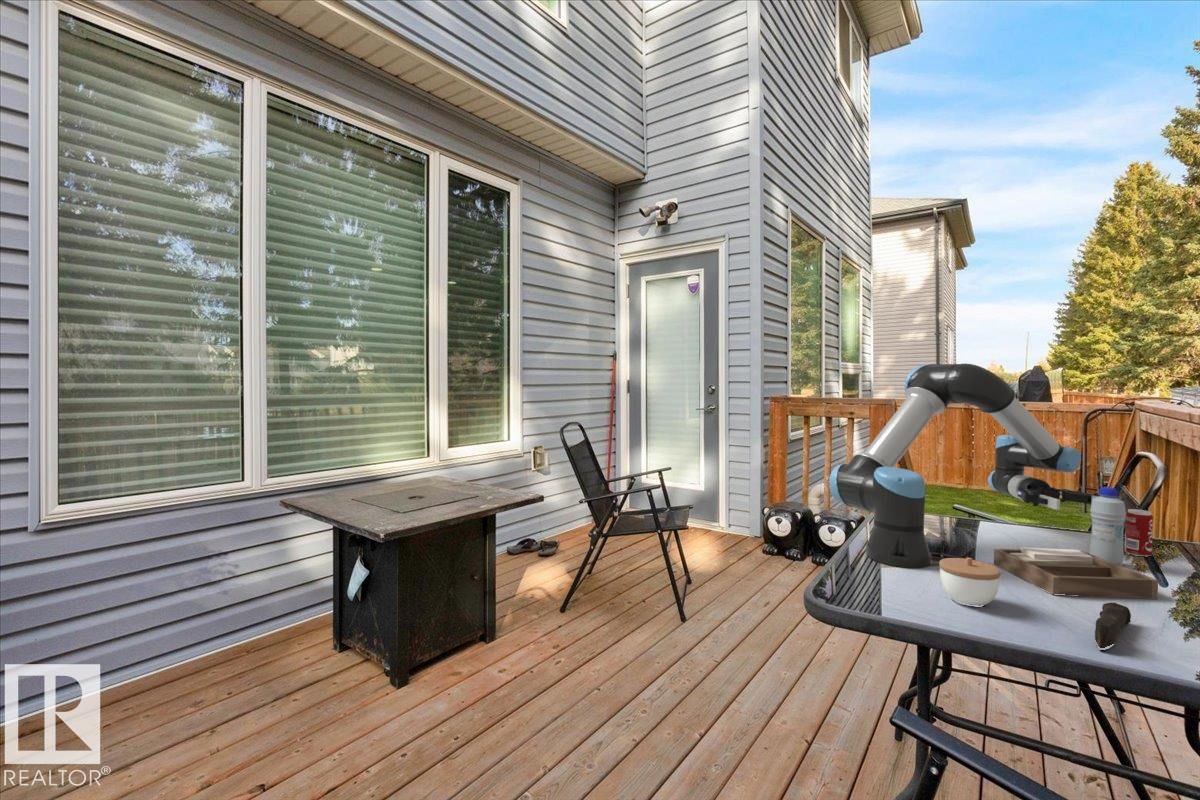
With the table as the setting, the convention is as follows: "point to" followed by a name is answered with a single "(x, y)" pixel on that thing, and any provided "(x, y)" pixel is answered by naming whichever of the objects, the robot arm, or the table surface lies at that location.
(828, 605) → the table surface
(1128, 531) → the soda can
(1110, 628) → the dark brown lumpy bar
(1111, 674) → the table surface
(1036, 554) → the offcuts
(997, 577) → the lidded jar
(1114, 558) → the bottle
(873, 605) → the table surface
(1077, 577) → the tray
